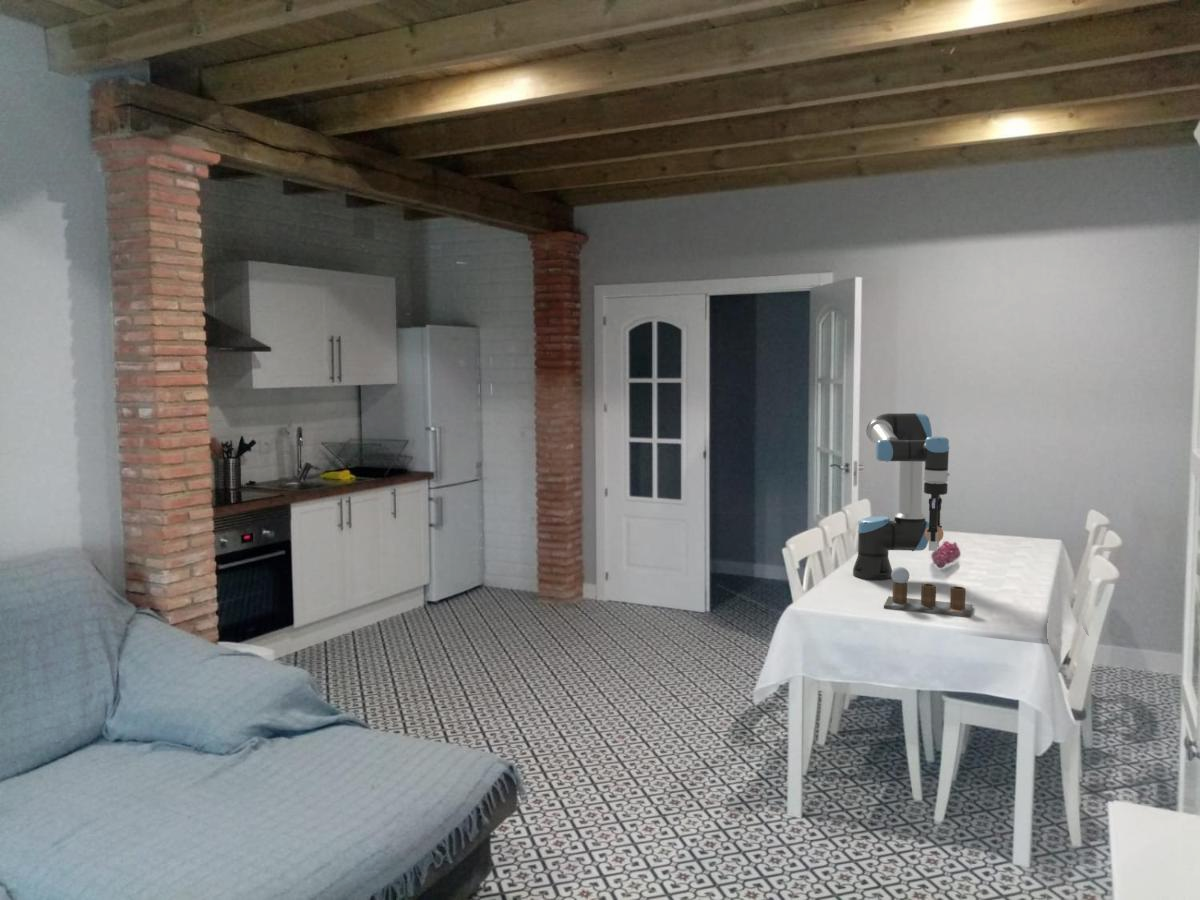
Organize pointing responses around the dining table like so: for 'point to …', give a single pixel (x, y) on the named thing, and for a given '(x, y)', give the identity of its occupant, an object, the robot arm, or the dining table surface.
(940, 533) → the ball terracotta
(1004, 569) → the dining table surface
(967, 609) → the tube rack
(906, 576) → the ball grey
